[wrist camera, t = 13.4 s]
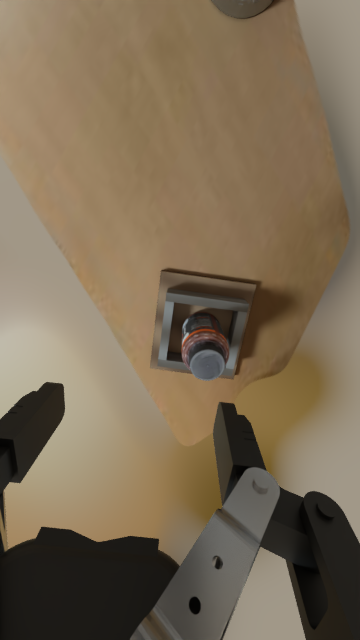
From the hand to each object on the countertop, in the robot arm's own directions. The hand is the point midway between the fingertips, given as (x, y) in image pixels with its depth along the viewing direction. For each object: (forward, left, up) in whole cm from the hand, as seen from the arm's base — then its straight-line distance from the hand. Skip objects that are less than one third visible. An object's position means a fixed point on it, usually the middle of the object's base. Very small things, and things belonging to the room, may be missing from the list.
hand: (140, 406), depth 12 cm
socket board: (+5, +5, -26) cm, 27 cm away
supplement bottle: (+5, +5, -25) cm, 26 cm away
